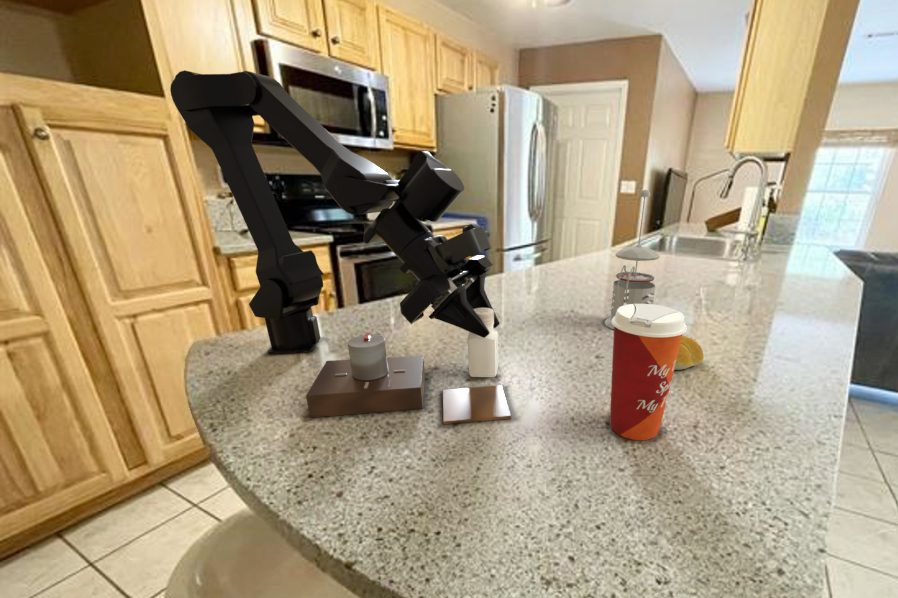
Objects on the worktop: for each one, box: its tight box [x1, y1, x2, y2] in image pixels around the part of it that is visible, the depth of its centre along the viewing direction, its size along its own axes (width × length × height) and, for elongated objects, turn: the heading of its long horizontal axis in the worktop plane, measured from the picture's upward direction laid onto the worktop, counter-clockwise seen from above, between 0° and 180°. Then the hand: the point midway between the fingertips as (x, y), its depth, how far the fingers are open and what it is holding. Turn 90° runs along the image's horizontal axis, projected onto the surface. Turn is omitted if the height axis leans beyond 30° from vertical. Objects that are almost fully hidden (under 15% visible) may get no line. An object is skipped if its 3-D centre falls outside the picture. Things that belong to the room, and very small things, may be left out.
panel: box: [305, 354, 426, 419], centre depth 55 cm, size 13×10×3 cm
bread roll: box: [674, 335, 704, 371], centre depth 67 cm, size 8×9×4 cm
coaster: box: [442, 385, 512, 425], centre depth 53 cm, size 8×8×1 cm
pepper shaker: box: [467, 308, 499, 378], centre depth 60 cm, size 4×4×10 cm
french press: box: [604, 189, 661, 330], centre depth 78 cm, size 10×12×25 cm
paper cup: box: [609, 303, 688, 441], centre depth 46 cm, size 8×8×14 cm
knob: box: [346, 332, 388, 380], centre depth 53 cm, size 4×4×5 cm
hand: (492, 330), depth 59 cm, fingers closed on pepper shaker, 4 cm apart
